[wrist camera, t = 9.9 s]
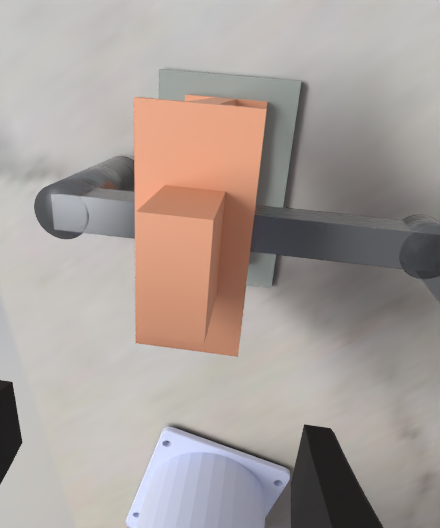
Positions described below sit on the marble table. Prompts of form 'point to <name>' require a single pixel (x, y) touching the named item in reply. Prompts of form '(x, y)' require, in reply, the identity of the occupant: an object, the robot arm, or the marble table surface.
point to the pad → (274, 140)
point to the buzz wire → (264, 226)
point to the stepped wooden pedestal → (194, 218)
